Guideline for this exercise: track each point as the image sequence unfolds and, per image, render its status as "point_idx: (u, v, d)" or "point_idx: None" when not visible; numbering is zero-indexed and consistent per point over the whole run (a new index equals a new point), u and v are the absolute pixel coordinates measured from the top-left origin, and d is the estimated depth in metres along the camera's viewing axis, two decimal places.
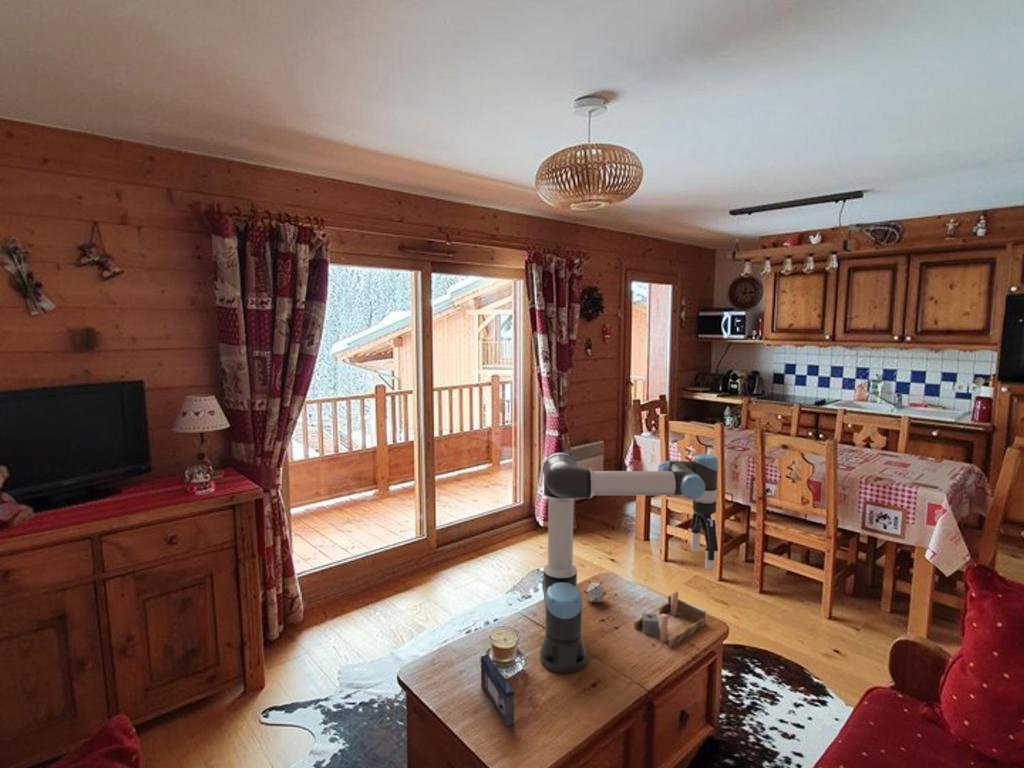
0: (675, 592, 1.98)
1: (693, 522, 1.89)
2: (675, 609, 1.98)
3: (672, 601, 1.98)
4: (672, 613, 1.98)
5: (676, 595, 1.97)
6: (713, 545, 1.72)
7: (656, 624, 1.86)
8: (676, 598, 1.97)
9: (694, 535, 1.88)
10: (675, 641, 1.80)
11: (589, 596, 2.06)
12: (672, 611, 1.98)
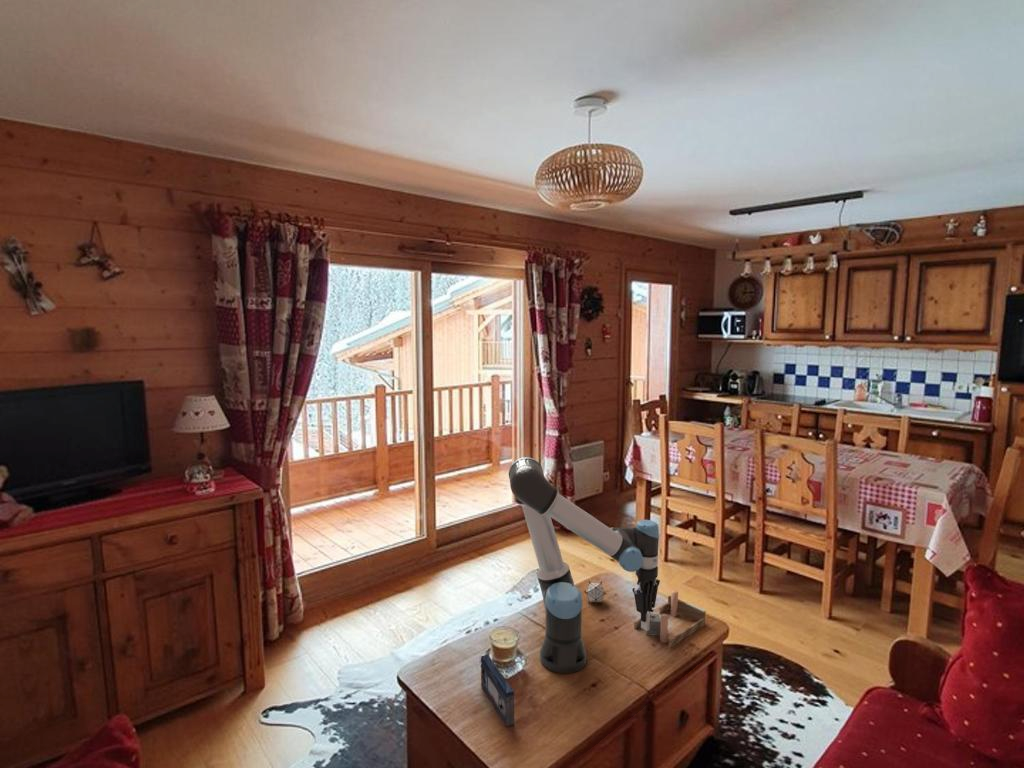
0: (675, 592, 1.98)
1: None
2: (675, 609, 1.98)
3: (672, 601, 1.98)
4: (672, 613, 1.98)
5: (676, 595, 1.97)
6: (638, 608, 1.83)
7: (659, 624, 1.85)
8: (676, 598, 1.97)
9: None
10: (675, 641, 1.80)
11: (589, 596, 2.06)
12: (672, 611, 1.98)
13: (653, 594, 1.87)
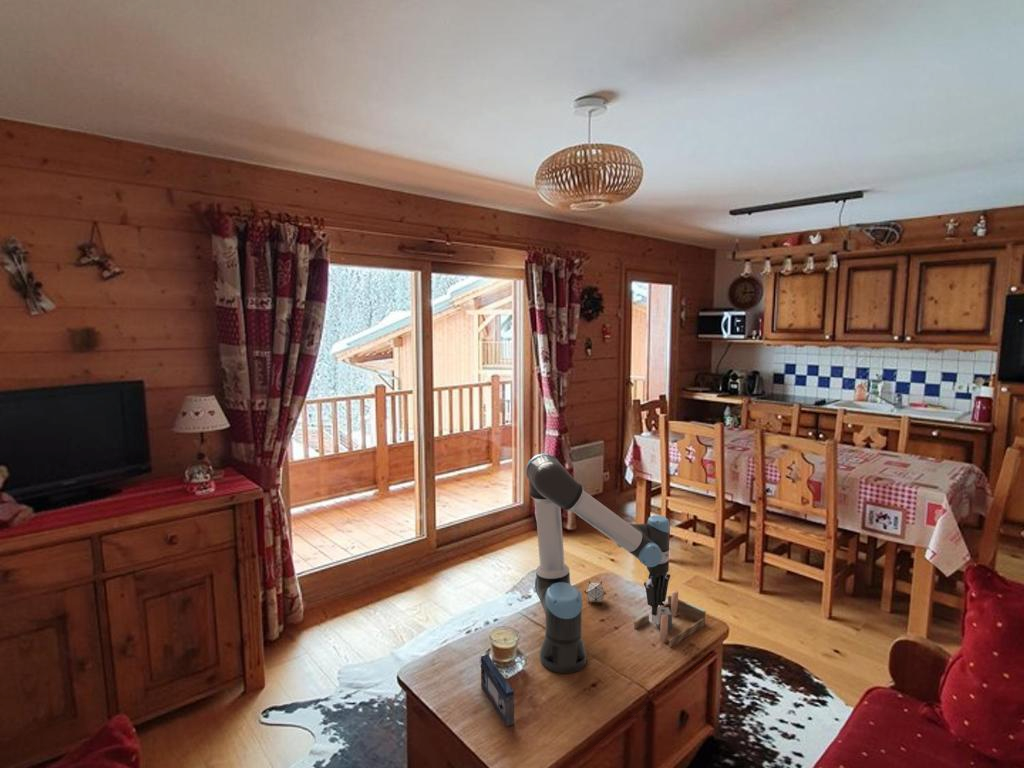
0: (675, 592, 1.98)
1: None
2: (675, 609, 1.98)
3: (672, 601, 1.98)
4: (672, 613, 1.98)
5: (676, 595, 1.97)
6: (650, 602, 1.88)
7: (669, 617, 1.90)
8: (676, 598, 1.97)
9: None
10: (675, 641, 1.80)
11: (589, 596, 2.06)
12: (672, 611, 1.98)
13: (664, 588, 1.91)
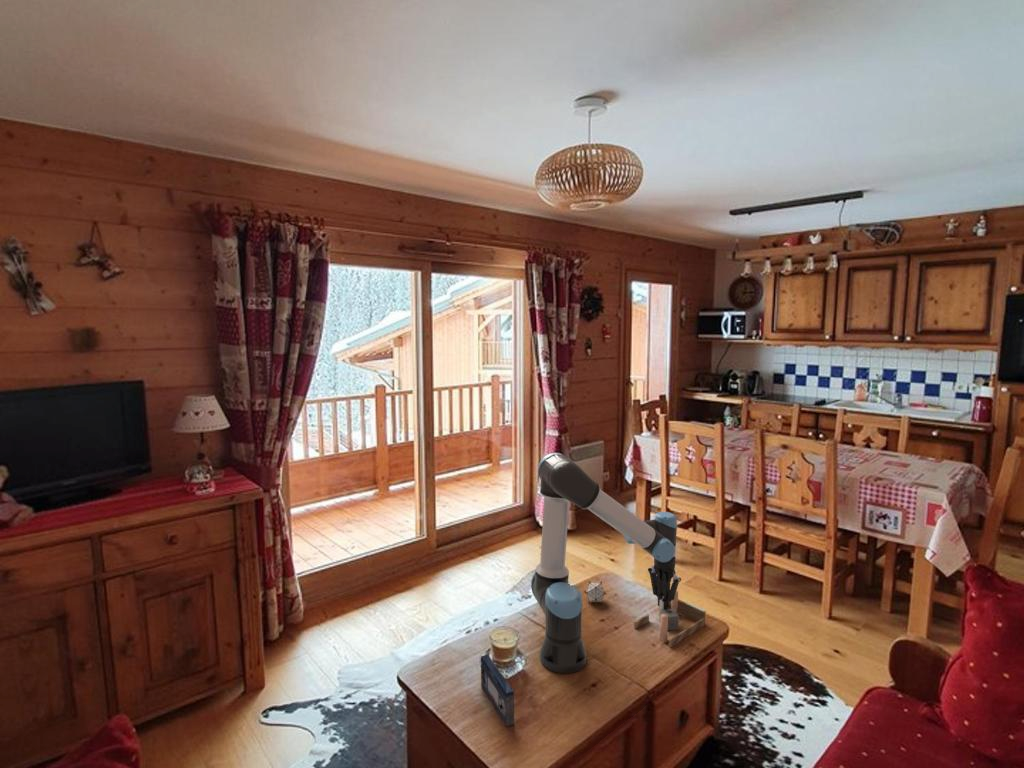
0: None
1: (654, 585, 1.96)
2: (675, 609, 1.98)
3: (672, 601, 1.98)
4: None
5: (676, 595, 1.97)
6: (672, 597, 1.91)
7: (676, 619, 1.89)
8: (676, 598, 1.97)
9: None
10: (675, 641, 1.80)
11: (589, 596, 2.06)
12: None
13: (656, 581, 1.97)
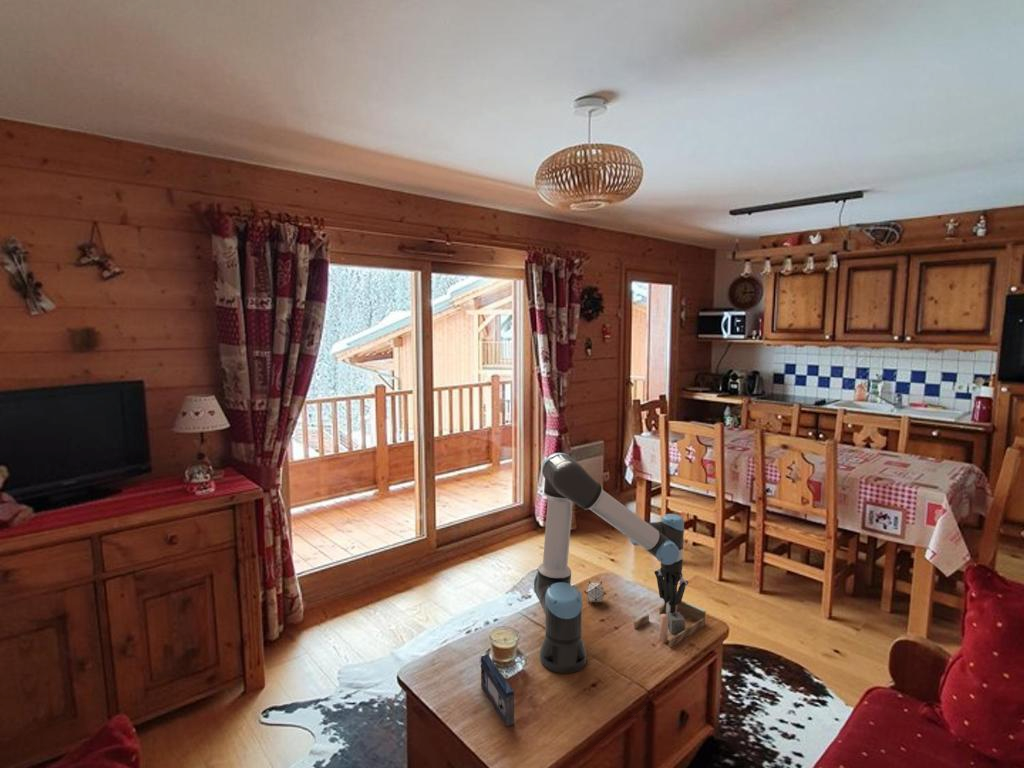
0: None
1: (661, 588, 1.94)
2: None
3: None
4: None
5: None
6: (679, 600, 1.89)
7: (682, 622, 1.87)
8: None
9: None
10: (675, 641, 1.80)
11: (589, 596, 2.06)
12: None
13: (663, 584, 1.95)
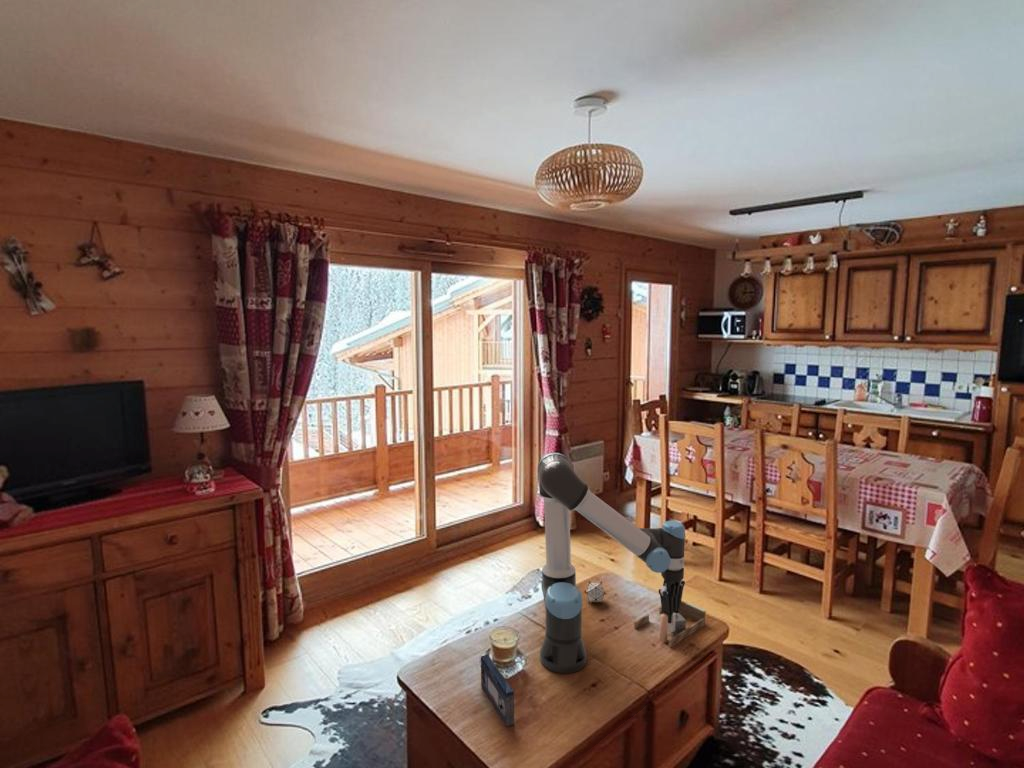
0: None
1: None
2: None
3: None
4: None
5: None
6: (664, 610, 1.83)
7: (683, 623, 1.86)
8: None
9: None
10: (675, 641, 1.80)
11: (589, 596, 2.06)
12: None
13: (678, 595, 1.86)
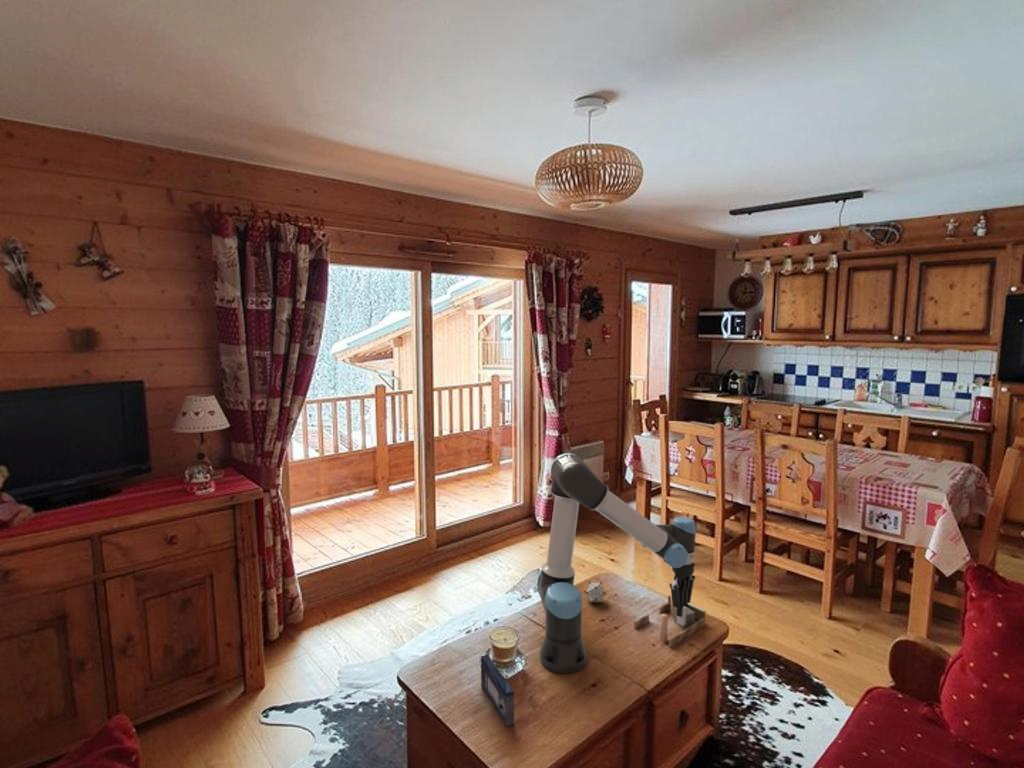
0: None
1: None
2: None
3: (672, 601, 1.98)
4: (672, 613, 1.98)
5: None
6: (675, 603, 1.87)
7: (693, 616, 1.91)
8: None
9: None
10: (675, 641, 1.80)
11: (589, 596, 2.06)
12: (672, 611, 1.98)
13: (689, 589, 1.91)
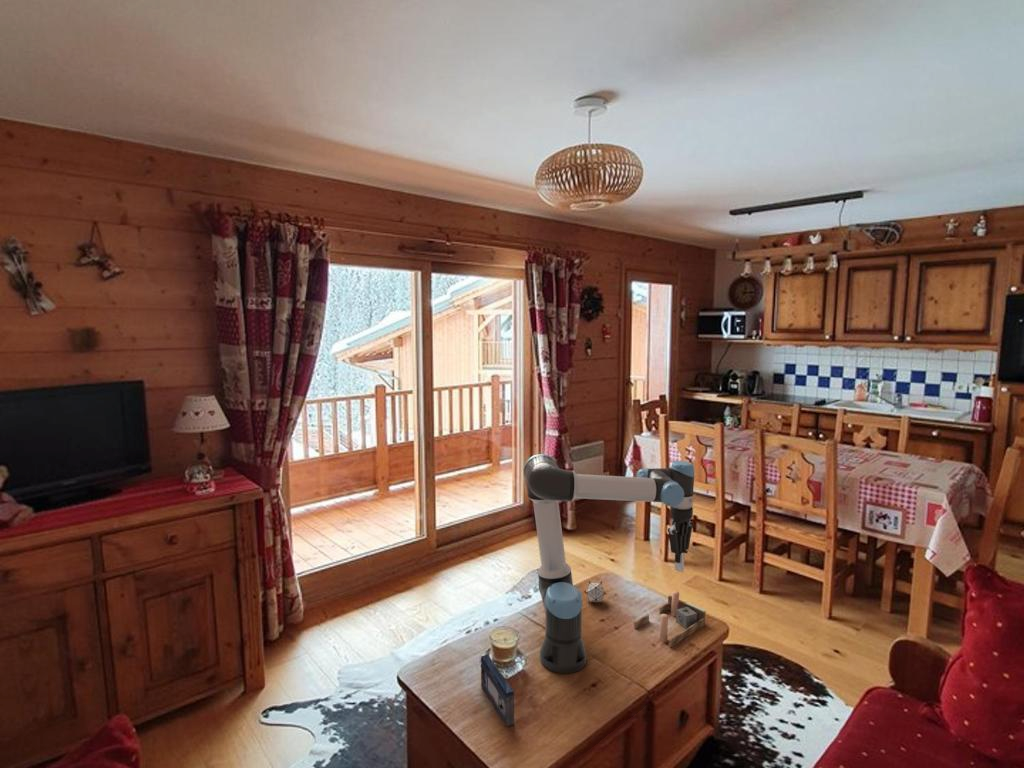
0: (676, 592, 1.97)
1: None
2: (676, 609, 1.97)
3: (673, 602, 1.97)
4: (673, 613, 1.98)
5: (678, 595, 1.97)
6: (673, 549, 1.83)
7: (695, 616, 1.91)
8: (677, 598, 1.97)
9: None
10: (675, 641, 1.80)
11: (589, 596, 2.06)
12: (673, 611, 1.98)
13: (687, 536, 1.87)
